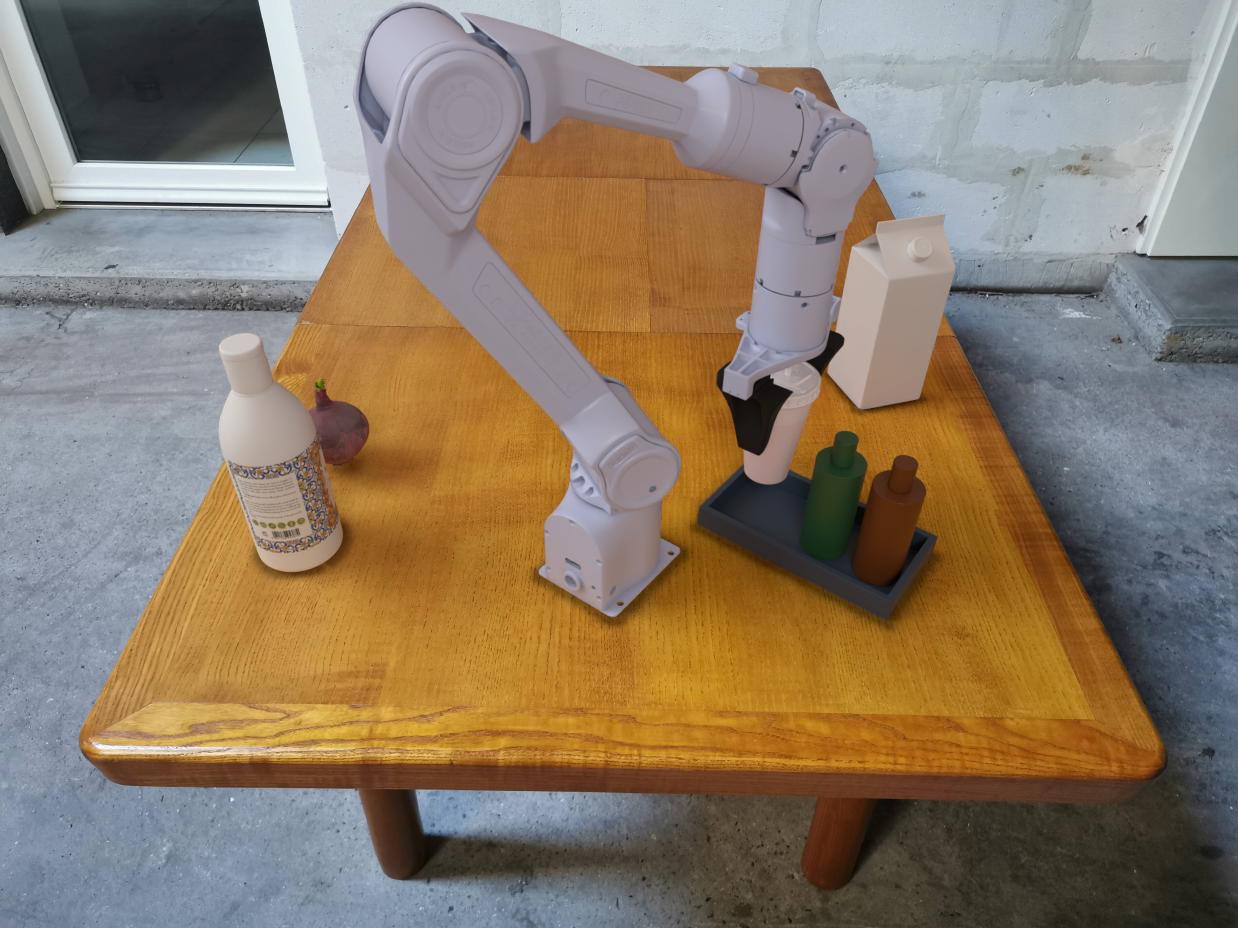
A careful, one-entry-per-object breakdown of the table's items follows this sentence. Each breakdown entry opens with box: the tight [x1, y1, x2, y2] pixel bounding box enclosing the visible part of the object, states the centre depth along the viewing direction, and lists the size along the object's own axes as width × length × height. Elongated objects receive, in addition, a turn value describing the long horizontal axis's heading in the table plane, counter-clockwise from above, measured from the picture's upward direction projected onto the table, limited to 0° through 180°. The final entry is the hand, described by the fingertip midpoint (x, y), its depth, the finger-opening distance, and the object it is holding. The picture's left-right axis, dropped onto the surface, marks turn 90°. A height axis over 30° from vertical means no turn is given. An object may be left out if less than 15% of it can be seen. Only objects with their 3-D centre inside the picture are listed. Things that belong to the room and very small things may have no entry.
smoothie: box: [743, 361, 822, 484], centre depth 70 cm, size 6×6×14 cm
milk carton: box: [827, 212, 956, 410], centre depth 88 cm, size 7×7×19 cm
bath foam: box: [218, 332, 344, 573], centre depth 68 cm, size 7×7×20 cm
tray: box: [697, 463, 938, 621], centre depth 75 cm, size 9×18×2 cm, turn 53°
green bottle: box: [800, 430, 869, 560], centre depth 71 cm, size 4×4×11 cm
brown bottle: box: [851, 454, 927, 586], centre depth 69 cm, size 4×4×11 cm
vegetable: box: [308, 377, 370, 468], centre depth 80 cm, size 6×6×10 cm
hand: (771, 428), depth 72 cm, fingers closed on smoothie, 6 cm apart
